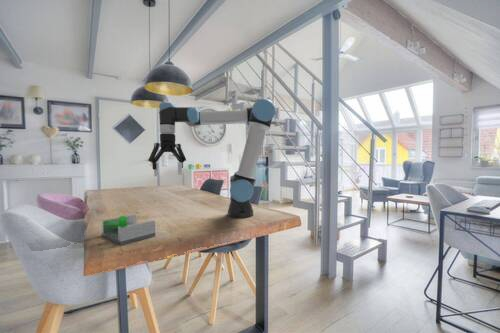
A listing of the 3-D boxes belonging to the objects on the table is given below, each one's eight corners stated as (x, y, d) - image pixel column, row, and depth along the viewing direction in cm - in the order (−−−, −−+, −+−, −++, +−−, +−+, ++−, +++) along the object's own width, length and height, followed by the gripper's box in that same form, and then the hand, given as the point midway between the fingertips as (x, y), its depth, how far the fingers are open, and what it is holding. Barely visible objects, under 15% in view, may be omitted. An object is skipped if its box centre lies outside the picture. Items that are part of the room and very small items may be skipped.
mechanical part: (137, 234, 98) (137, 215, 98) (121, 237, 95) (120, 217, 94) (133, 228, 108) (132, 210, 108) (118, 230, 104) (117, 212, 104)
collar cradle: (155, 236, 101) (155, 220, 101) (120, 245, 90) (120, 228, 90) (134, 228, 113) (134, 214, 113) (101, 235, 102) (101, 220, 102)
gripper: (148, 131, 109) (149, 177, 110) (192, 135, 129) (193, 174, 130) (140, 132, 114) (141, 176, 115) (183, 135, 134) (184, 173, 134)
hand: (168, 175), depth 122 cm, fingers open, 13 cm apart
